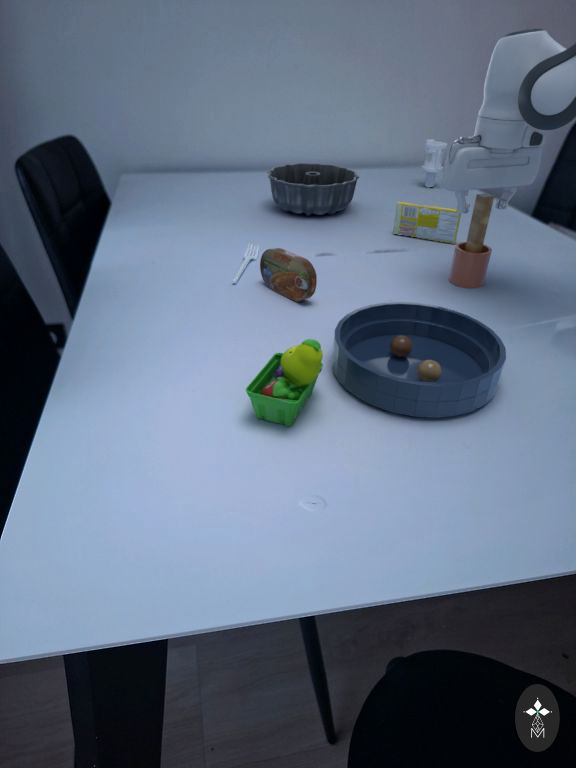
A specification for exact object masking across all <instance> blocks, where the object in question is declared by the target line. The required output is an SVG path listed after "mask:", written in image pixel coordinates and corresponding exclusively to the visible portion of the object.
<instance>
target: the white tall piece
mask: <svg viewBox="0 0 576 768" xmlns="http://www.w3.org/2000/svg"><path fill="white" fill-rule="evenodd" d="M447 148H448V143H446V142H443V141H436V139H432V138H431V139H425V143H424V152H425V157H424V163H423V164H422V165H421V168H420V169H421V171H423V172H426V173H425V174H426V175H425V179H424V186H425V185H426V186H434V187H435V181H436V175H437V173H443V169H444V166H442V164H443V163H442V162H443V157H444V152H443V151H442V150H446V149H447Z"/></svg>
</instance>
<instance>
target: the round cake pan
mask: <svg viewBox="0 0 576 768" xmlns="http://www.w3.org/2000/svg"><path fill="white" fill-rule="evenodd" d="M335 326H336V327H335V328H334V333H333V334H334V335H333V347H332V358H331V359H332V360H331V361H332V365H331V366H332V370H333V373H334V375H335V379H336V380H337V381H338V382H339V383H340V384H341V386H343V388H344V389H345V390H347V391H348V392H349V393H350V394H352V395H353V396H355V397H356V398H358V399H359V400H361V401H364V402H365V403H367V404H369V405H371V406H373V407H376V408H379V409H382V410H383V411H384V410H385V411H387V412H391V413H393V414H399V415H404V416H405V415H406V416H410V417H417V418H447V417H448V418H449V417H456V416H461V415H464V414H468V413H471V412H472V413H473V412H474V411H476V410H478V409H480V408H482V407H485V405H487V403H488V402H490V401H491V400H492V399H493V398H494V396H495V394H496V392H497V389H498V386H499V384H500V380H501V377H502V373H503V370H504V366H505V363H506V360H507V349H506V346H505V344H504V342H503V340H502V338H501V337H500V336H499V335H498V334H497V333H496V332H495V331H494V329H492V328H491V327H489V326H488V325H486V324H484V323H483V322H481V321H480V320H478V319H476V318H474V317H471V316H469V315H468V314H465V313H462V312H459V311H457V310H455V309H450V308H447V307H443V306H439V305H434V304H428V303H420V302H410V301H409V302H408V301H398V302H397V301H392V302H380V303H375V304H369V305H366V306H363V307H359V308H356V309H355V310H352V311H351V312H348V313H347V314H345V315H344V316H343V317H342V318H341V319H340V320H339V321H338V323H337V324H336V325H335ZM399 335H404V336H407V337H408V338H409V339H410V340H411V342H412V346H413V347H412V351H411V352H410V354H409V355H407V356H405V357H397V356H395V355H394V354H393V353H392V352H391V350H390V343H391V341H392V339H393V338H395V337H396V336H399ZM425 360H434V361H436V362H437V363H439V365H440V366H441V370H442V373H441V376H440V378H439V379H438V380H437V381H436V382H423V381H421V380H420V379H419V377H418V375H417V368H418V366H419V364H420V363H421V362H423V361H425Z"/></svg>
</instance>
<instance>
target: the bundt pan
mask: <svg viewBox="0 0 576 768" xmlns="http://www.w3.org/2000/svg"><path fill="white" fill-rule="evenodd" d="M267 178H268V179H269V183H270V190H271V195H272V199H273V201H274V203H275V204H276V205H277V206H278V207H280V208H281V209H282V210H283V211H284V212H287V211H292V212H291V213H293V214H295V215H300V214H305V216H307V217H309V216H310V215H312V214H314V215H317V216H323V215H325V214H326V213H328V214H327V215H333V214H335V213H336V211H337V212H340V211H342V210H344V209H345V208H346V207H347V206H349V205H350V203H351V202H352V201H353V198H354V196H355V190H356V186H357V182H358V180H359V179H360V176H359V175H358V172H357V171H356V170H353V169H350V168H348V167H346V166H340V165H337V164H331V163H320V162H314V163H311V162H296V163H285V164H283V165H278V166H277V165H276V166H274V167H272V168H271V169H269V170H267Z"/></svg>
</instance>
